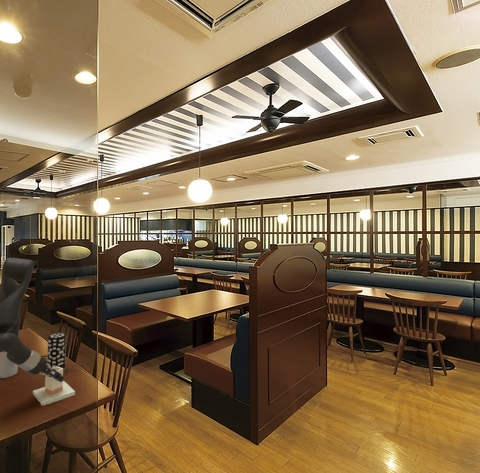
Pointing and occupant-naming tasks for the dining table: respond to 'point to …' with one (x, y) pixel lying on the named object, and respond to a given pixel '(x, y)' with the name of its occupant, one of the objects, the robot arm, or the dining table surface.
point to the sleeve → (53, 383)
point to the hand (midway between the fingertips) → (58, 378)
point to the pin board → (47, 398)
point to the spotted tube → (57, 350)
